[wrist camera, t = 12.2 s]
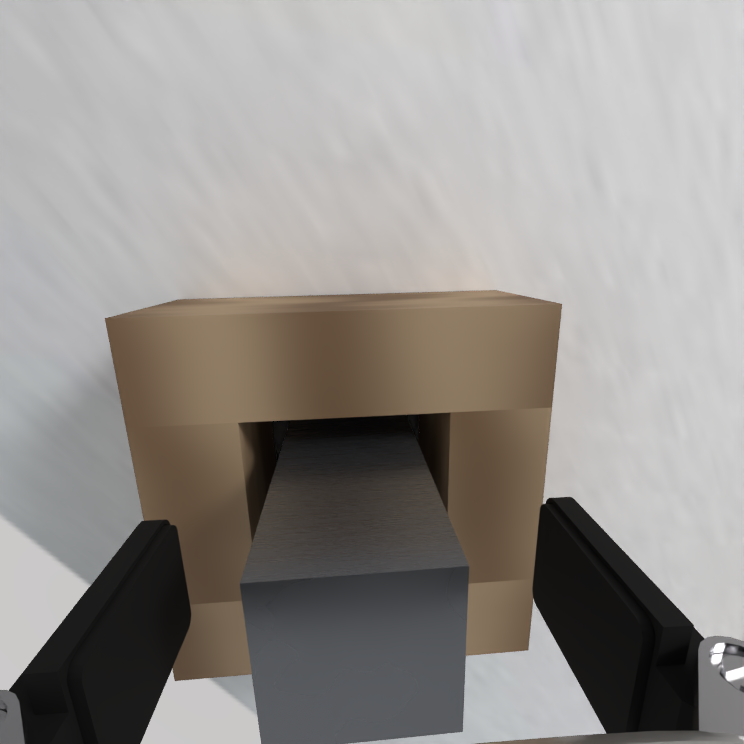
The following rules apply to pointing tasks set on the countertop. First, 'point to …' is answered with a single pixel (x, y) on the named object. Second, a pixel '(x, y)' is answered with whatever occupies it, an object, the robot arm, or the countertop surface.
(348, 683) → the square bit
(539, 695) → the countertop surface
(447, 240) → the countertop surface
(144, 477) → the bore block
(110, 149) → the countertop surface
